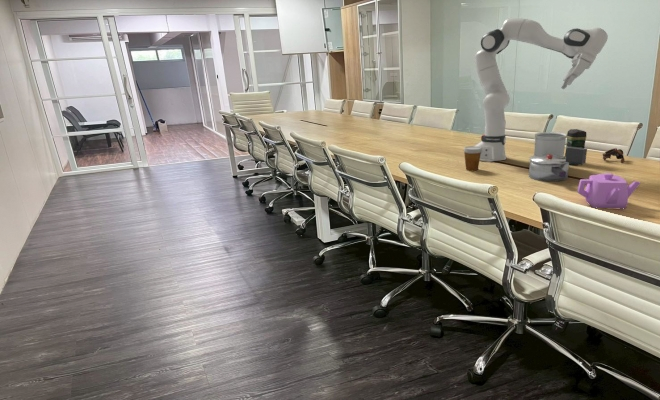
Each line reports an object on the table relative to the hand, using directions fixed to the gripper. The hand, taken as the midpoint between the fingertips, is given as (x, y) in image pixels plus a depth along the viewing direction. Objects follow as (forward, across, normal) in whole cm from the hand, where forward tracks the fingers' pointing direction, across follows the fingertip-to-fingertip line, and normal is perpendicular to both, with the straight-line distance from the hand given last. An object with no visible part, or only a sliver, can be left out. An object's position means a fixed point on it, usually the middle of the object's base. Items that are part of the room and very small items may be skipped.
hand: (565, 86), depth 211 cm
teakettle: (+45, +46, +33) cm, 72 cm away
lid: (+35, +10, +15) cm, 39 cm away
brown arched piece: (+15, -27, +46) cm, 55 cm away
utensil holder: (+36, -15, +17) cm, 43 cm away
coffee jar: (+27, -22, +28) cm, 45 cm away
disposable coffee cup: (+57, -10, -15) cm, 60 cm away
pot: (+43, +8, +17) cm, 47 cm away
